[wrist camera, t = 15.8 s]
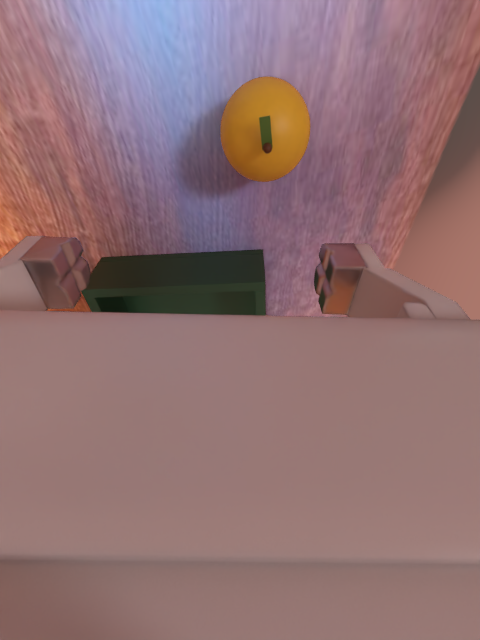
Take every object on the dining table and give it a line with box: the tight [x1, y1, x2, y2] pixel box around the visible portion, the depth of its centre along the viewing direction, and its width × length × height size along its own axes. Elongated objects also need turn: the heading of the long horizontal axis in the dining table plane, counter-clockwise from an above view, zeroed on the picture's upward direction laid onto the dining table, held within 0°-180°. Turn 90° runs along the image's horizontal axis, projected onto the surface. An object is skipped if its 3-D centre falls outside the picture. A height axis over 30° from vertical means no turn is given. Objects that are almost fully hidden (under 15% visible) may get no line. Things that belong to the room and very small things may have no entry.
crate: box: [81, 250, 266, 316], centre depth 33 cm, size 17×16×5 cm
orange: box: [220, 77, 310, 182], centre depth 20 cm, size 6×6×7 cm
